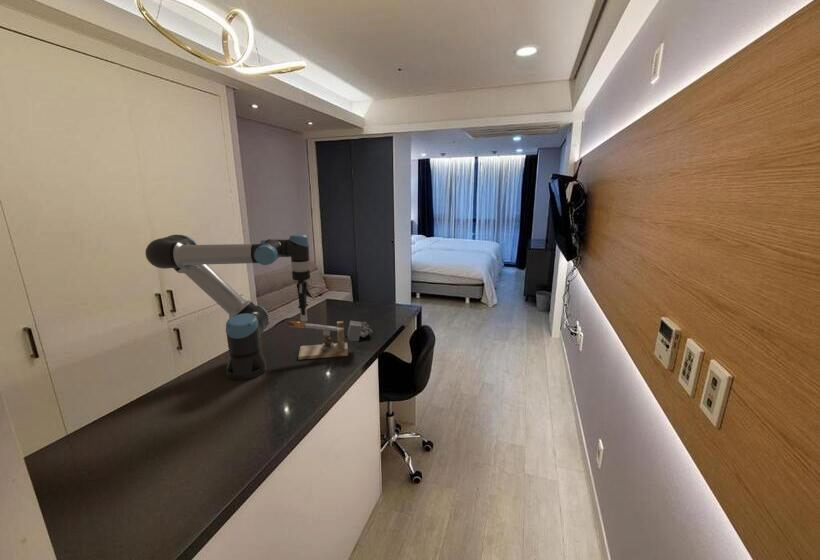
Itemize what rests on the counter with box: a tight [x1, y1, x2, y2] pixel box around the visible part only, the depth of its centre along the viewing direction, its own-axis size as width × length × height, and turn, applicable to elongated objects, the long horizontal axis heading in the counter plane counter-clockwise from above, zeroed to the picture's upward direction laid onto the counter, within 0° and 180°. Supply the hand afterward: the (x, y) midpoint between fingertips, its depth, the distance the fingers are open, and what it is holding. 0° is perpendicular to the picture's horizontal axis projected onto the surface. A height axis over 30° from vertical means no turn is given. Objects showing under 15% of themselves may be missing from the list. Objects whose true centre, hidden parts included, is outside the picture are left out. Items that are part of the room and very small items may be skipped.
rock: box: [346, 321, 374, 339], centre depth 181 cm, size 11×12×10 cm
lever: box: [288, 320, 362, 342], centre depth 158 cm, size 32×6×8 cm, turn 102°
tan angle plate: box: [297, 320, 349, 360], centre depth 160 cm, size 22×11×13 cm, turn 102°
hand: (304, 320), depth 156 cm, fingers closed
